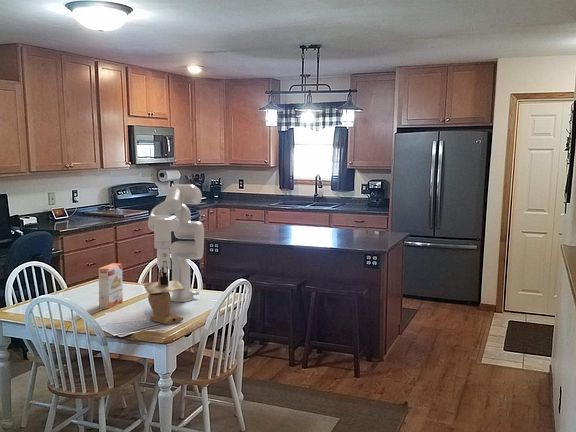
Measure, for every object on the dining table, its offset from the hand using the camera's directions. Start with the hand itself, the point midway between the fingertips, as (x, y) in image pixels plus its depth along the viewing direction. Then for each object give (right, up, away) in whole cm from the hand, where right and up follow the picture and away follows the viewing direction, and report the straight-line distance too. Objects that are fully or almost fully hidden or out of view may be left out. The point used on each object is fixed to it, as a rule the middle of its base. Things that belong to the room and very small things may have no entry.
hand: (163, 283), depth 244 cm
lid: (0, -2, 0) cm, 2 cm away
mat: (-20, -18, +8) cm, 28 cm away
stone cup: (0, -19, +2) cm, 19 cm away
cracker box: (-33, -15, +27) cm, 46 cm away
